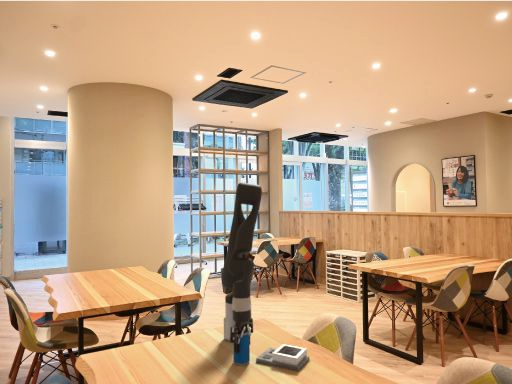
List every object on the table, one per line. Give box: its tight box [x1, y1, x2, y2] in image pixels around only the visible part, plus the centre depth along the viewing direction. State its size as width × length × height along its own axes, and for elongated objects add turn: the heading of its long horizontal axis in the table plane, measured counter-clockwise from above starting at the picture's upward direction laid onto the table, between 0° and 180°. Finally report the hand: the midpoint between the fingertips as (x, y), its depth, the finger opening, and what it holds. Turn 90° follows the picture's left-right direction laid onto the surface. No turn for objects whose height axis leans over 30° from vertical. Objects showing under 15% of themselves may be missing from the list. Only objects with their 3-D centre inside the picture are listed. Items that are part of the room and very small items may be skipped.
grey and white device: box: [255, 343, 310, 372], centre depth 150 cm, size 18×12×4 cm, turn 61°
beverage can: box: [232, 331, 251, 366], centre depth 149 cm, size 6×6×12 cm
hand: (242, 348), depth 149 cm, fingers open, 8 cm apart
